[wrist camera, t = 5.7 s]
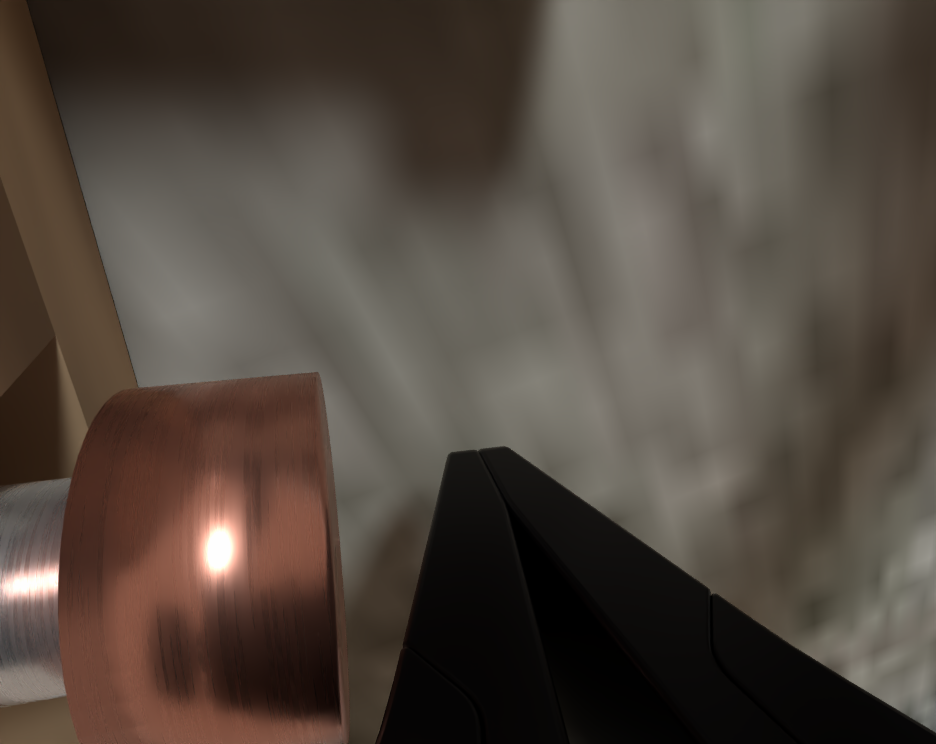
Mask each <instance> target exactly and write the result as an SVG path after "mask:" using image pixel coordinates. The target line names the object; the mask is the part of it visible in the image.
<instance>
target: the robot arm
mask: <svg viewBox="0 0 936 744" xmlns="http://www.w3.org/2000/svg"><path fill="white" fill-rule="evenodd" d="M375 744H936V733H935V732H934V731H932V730H930V729H929V728H927V727H925V726H924V725H922V724H920V723H919V722H917V721H915V720H914V719H912V718H910V717H909V716H907V715H905V714H904V713H902V712H900V711H899V710H897V709H895V708H894V707H892V706H890V705H889V704H887V703H885V702H884V701H882V700H880V699H879V698H877V697H875V696H874V695H872V694H870V693H869V692H867V691H865V690H864V689H862V688H860V687H859V686H857V685H855V684H854V683H852V682H850V681H849V680H847V679H845V678H844V677H842V676H841V675H839V674H837V673H836V672H834V671H832V670H831V669H829V668H828V667H826V666H824V665H823V664H821V663H820V662H818V661H816V660H815V659H813V658H812V657H810V656H808V655H807V654H805V653H803V652H802V651H800V650H799V649H797V648H795V647H794V646H792V645H791V644H789V643H788V642H786V641H785V640H783V639H782V638H780V637H779V636H777V635H776V634H774V633H773V632H771V631H770V630H769V629H767V628H766V627H764V626H763V625H761V624H760V623H758V622H757V621H755V620H754V619H752V618H751V617H749V616H748V615H746V614H745V613H743V612H742V611H741V610H739V609H738V608H736V607H735V606H733V605H732V604H731V603H729V602H728V601H726V600H725V599H723V598H722V597H721V596H719V595H718V594H712V595H711V592H710V589H709V588H707V587H706V586H705V585H703V584H702V583H700V582H699V581H698V580H696V579H695V578H693V577H692V576H690V575H689V574H688V573H686V572H685V571H683V570H682V569H680V568H679V567H678V566H676V565H675V564H673V563H672V562H671V561H669V560H668V559H666V558H665V557H663V556H662V555H661V554H659V553H658V552H656V551H655V550H653V549H652V548H651V547H649V546H648V545H646V544H645V543H644V542H642V541H641V540H639V539H638V538H636V537H635V536H634V535H632V534H631V533H629V532H628V531H627V530H625V529H624V528H622V527H621V526H619V525H618V524H617V523H615V522H614V521H612V520H611V519H609V518H608V517H607V516H605V515H604V514H602V513H601V512H600V511H598V510H597V509H595V508H594V507H592V506H591V505H590V504H588V503H587V502H585V501H584V500H582V499H581V498H580V497H578V496H577V495H575V494H574V493H573V492H571V491H570V490H568V489H567V488H565V487H564V486H563V485H561V484H560V483H558V482H557V481H556V480H554V479H553V478H551V477H550V476H548V475H547V474H546V473H544V472H543V471H541V470H540V469H538V468H537V467H536V466H534V465H533V464H531V463H530V462H529V461H527V460H526V459H524V458H523V457H521V456H520V455H519V454H517V453H516V452H514V451H513V450H511V449H510V448H508V447H505V446H501V447H493V448H484V449H480V450H479V451H477V450H466V451H458V452H451V453H450V454H449V455H448V457H447V460H446V465H445V469H444V473H443V477H442V482H441V486H440V490H439V494H438V498H437V503H436V507H435V511H434V515H433V519H432V524H431V528H430V532H429V536H428V541H427V545H426V549H425V553H424V557H423V562H422V566H421V570H420V574H419V578H418V583H417V587H416V591H415V595H414V599H413V604H412V608H411V612H410V616H409V620H408V625H407V629H406V633H405V637H404V641H403V649H402V650H401V652H400V656H399V660H398V665H397V669H396V673H395V677H394V681H393V685H392V689H391V692H390V696H389V699H388V703H387V707H386V710H385V714H384V717H383V721H382V725H381V728H380V731H379V734H378V737H377V740H376V743H375Z"/></svg>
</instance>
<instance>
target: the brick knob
mask: <svg viewBox="0 0 936 744" xmlns="http://www.w3.org/2000/svg"><path fill="white" fill-rule="evenodd" d="M64 696H67V701H68V706H69V711H70V715H71V718H72V721H73V725H74V728H75V731H76V735H77V738H78V741H79V743H80V744H348V742H349V730H350V704H349V674H348V653H347V635H346V619H345V604H344V590H343V576H342V563H341V551H340V539H339V527H338V516H337V505H336V494H335V484H334V474H333V465H332V456H331V447H330V438H329V430H328V422H327V414H326V407H325V400H324V394H323V388H322V383H321V379H320V375H319V373H318V372H313V373H301V374H290V375H279V376H267V377H256V378H245V379H233V380H222V381H211V382H199V383H188V384H176V385H165V386H154V387H142V388H131V389H125V390H121V391H119V392H118V393H116V394H114V395H113V396H112V397H111V398H110V399H108V400H107V401H106V402H105V403H104V404H103V406H102V407H101V409H100V410H99V412H98V413H97V414H96V416H95V417H94V419H93V421H92V423H91V425H90V427H89V429H88V431H87V433H86V436H85V438H84V441H83V444H82V446H81V449H80V452H79V454H78V457H77V461H76V464H75V468H74V472H73V475H72V478H63V479H55V480H46V481H37V482H28V483H19V484H11V485H2V486H0V708H3V707H8V706H14V705H20V704H25V703H31V702H36V701H42V700H47V699H53V698H59V697H64Z"/></svg>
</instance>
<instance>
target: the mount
mask: <svg viewBox="0 0 936 744" xmlns="http://www.w3.org/2000/svg"><path fill="white" fill-rule="evenodd" d="M131 388H138V386H137V382H136V379H135V375H134V372H133V368H132V365H131V361H130V358H129V354H128V351H127V347H126V344H125V341H124V337H123V334H122V330H121V327H120V323H119V320H118V316H117V313H116V309H115V306H114V302H113V299H112V296H111V292H110V289H109V285H108V282H107V278H106V275H105V271H104V268H103V264H102V261H101V258H100V254H99V251H98V247H97V244H96V240H95V237H94V233H93V230H92V226H91V223H90V219H89V216H88V213H87V209H86V206H85V202H84V199H83V195H82V192H81V188H80V185H79V181H78V178H77V174H76V171H75V168H74V164H73V161H72V157H71V154H70V150H69V147H68V143H67V140H66V136H65V133H64V129H63V126H62V123H61V119H60V116H59V112H58V109H57V105H56V102H55V98H54V95H53V91H52V88H51V85H50V81H49V78H48V74H47V71H46V67H45V64H44V60H43V57H42V53H41V50H40V46H39V43H38V40H37V36H36V33H35V29H34V26H33V22H32V19H31V15H30V12H29V8H28V5H27V1H26V0H0V486H2V485H11V484H19V483H28V482H37V481H46V480H55V479H63V478H72V475H73V472H74V468H75V464H76V461H77V457H78V454H79V452H80V449H81V446H82V444H83V441H84V438H85V436H86V433H87V431H88V429H89V427H90V425H91V423H92V421H93V419H94V417H95V416H96V414H97V413H98V412H99V410H100V409H101V407H102V406H103V404H104V403H105V402H106V401H107V400H108V399H110V398H111V397H112V396H113V395H114V394H116V393H118V392H119V391H121V390H125V389H131ZM0 744H80V743H79V741H78V738H77V735H76V731H75V728H74V725H73V721H72V718H71V715H70V711H69V706H68V701H67V696H64V697H59V698H53V699H47V700H42V701H36V702H31V703H25V704H20V705H14V706H8V707H3V708H0Z"/></svg>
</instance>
